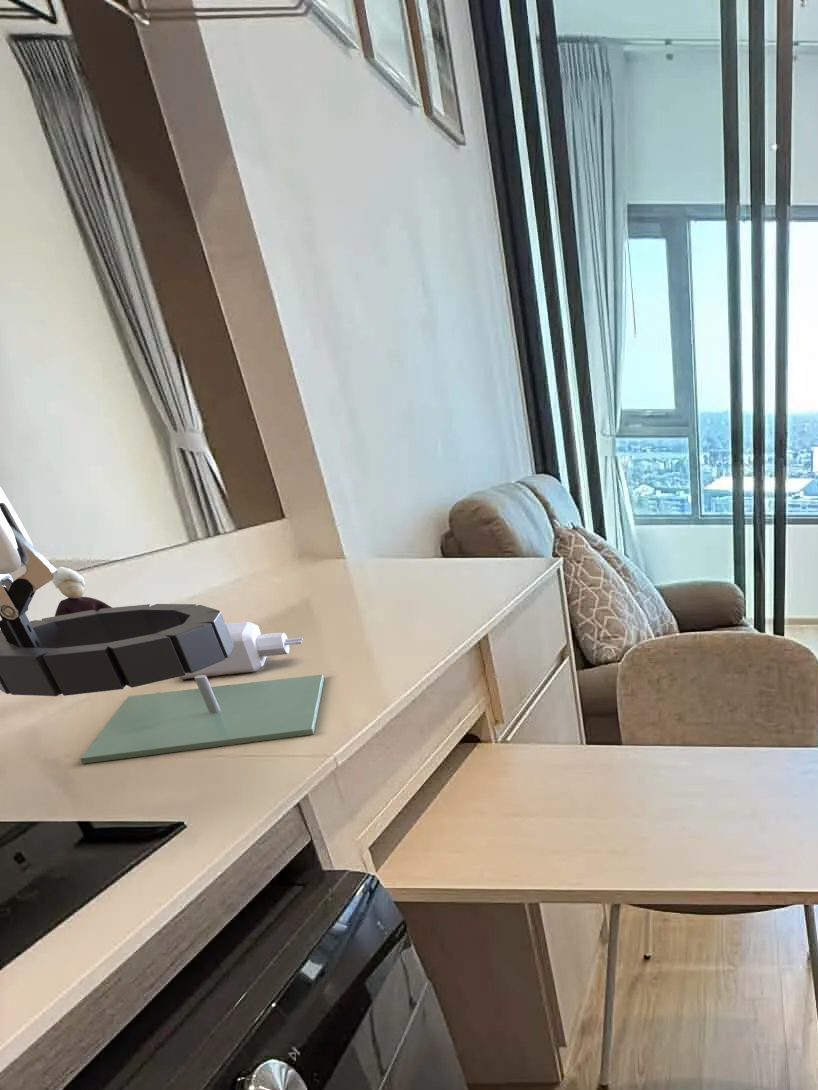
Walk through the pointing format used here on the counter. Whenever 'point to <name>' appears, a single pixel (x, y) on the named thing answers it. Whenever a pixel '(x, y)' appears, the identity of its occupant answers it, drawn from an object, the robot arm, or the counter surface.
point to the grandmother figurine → (74, 593)
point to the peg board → (209, 717)
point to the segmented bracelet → (114, 649)
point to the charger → (248, 650)
